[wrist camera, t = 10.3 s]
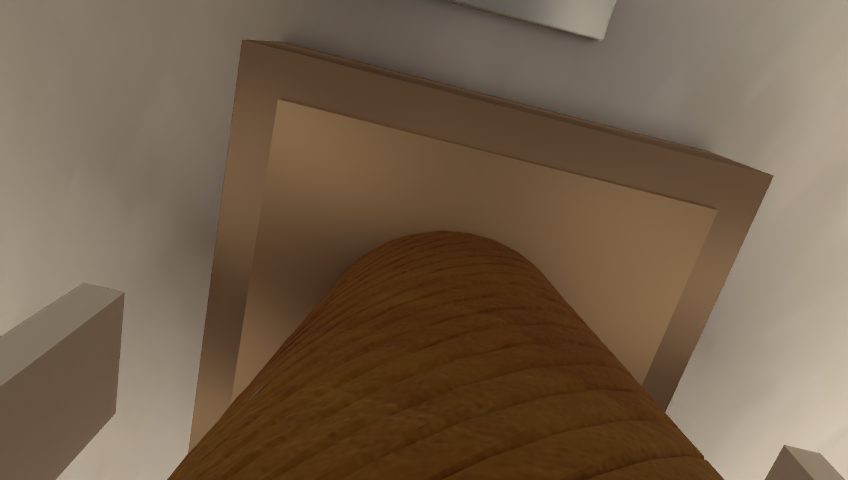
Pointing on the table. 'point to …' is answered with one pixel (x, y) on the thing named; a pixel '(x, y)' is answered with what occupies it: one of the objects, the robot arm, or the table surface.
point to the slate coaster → (554, 13)
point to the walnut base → (456, 210)
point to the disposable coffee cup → (444, 383)
